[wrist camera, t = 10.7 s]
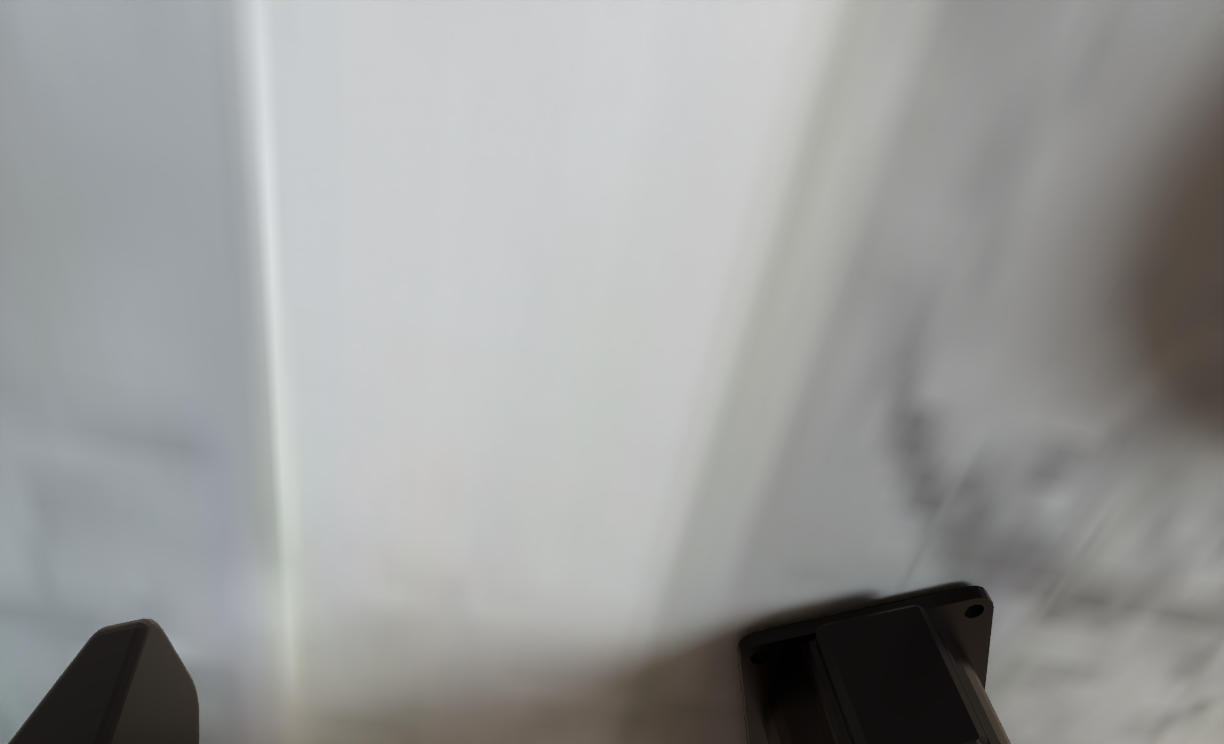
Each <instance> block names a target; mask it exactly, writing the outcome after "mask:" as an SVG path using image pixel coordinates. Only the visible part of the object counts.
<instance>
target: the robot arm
mask: <svg viewBox="0 0 1224 744" xmlns="http://www.w3.org/2000/svg"><path fill="white" fill-rule="evenodd" d="M993 608H994V607H993V602H992V600H991V598H990V597H989V595H988V593H987V591H986V590H985V589H984V588H983V587H980V586H968V587H964V588H959V589H954V590H950V591H945V592H940V593H936V594H931V595H926V596H922V597H917V598H912V599H908V600H903V601H899V602H894V603H889V604H885V605H880V606H875V607H871V608H866V609H861V610H857V611H852V612H847V613H843V614H838V615H833V616H829V617H824V618H820V619H815V620H810V621H806V622H801V623H796V624H792V625H787V626H782V627H778V628H773V629H768V630H764V631H759V632H755V633H752V634H749V635H747V636H746V637H744V638H743V639H741V641H740V642H739V643H738V647H737V653H738V662H739V671H740V680H741V689H742V698H743V707H744V716H745V725H746V734H747V743H748V744H1011V743H1010V741H1009V739H1008V737H1007V735H1006V733H1005V731H1004V729H1003V727H1002V725H1001V723H1000V721H999V719H998V717H997V714H996V712H995V710H994V708H993V706H992V704H991V702H990V700H989V698H988V696H987V694H986V692H985V683H986V674H987V664H988V655H989V646H990V636H991V627H992V618H993ZM8 744H199V703H198V696H197V692H196V688H195V685H194V682H193V680H192V678H191V676H190V674H189V672H188V671H187V669H186V667H185V666H184V664H183V662H182V661H181V659H180V657H179V656H178V654H177V652H176V651H175V649H174V647H173V646H172V644H171V642H170V641H169V639H168V637H167V636H166V634H165V632H164V631H163V629H162V628H161V626H160V625H159V624H158V623H157V622H155V621H154V620H152V619H139V620H135V621H130V622H125V623H120V624H116V625H111V626H106V627H104V628H102V629H100V630H98V631H97V632H96V633H95V634H93V636H92V637H91V638H90V639H89V640H88V641H87V643H86V644H85V645H84V647H83V648H82V649H81V650H80V652H79V653H78V654H77V656H76V657H75V658H74V660H73V661H72V662H71V663H70V665H69V666H68V667H67V669H66V670H65V671H64V672H63V674H62V675H61V676H60V678H59V679H58V680H57V681H56V683H55V684H54V685H53V687H52V688H51V689H50V691H49V692H48V693H47V694H46V696H45V697H44V698H43V700H42V701H41V702H40V703H39V705H38V706H37V707H36V709H35V710H34V711H33V712H32V714H31V715H30V716H29V718H28V719H27V720H26V721H25V723H24V724H23V725H22V727H21V728H20V729H19V731H18V732H17V733H16V734H15V736H14V737H13V738H12V740H11V741H10V742H9V743H8Z"/></svg>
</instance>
